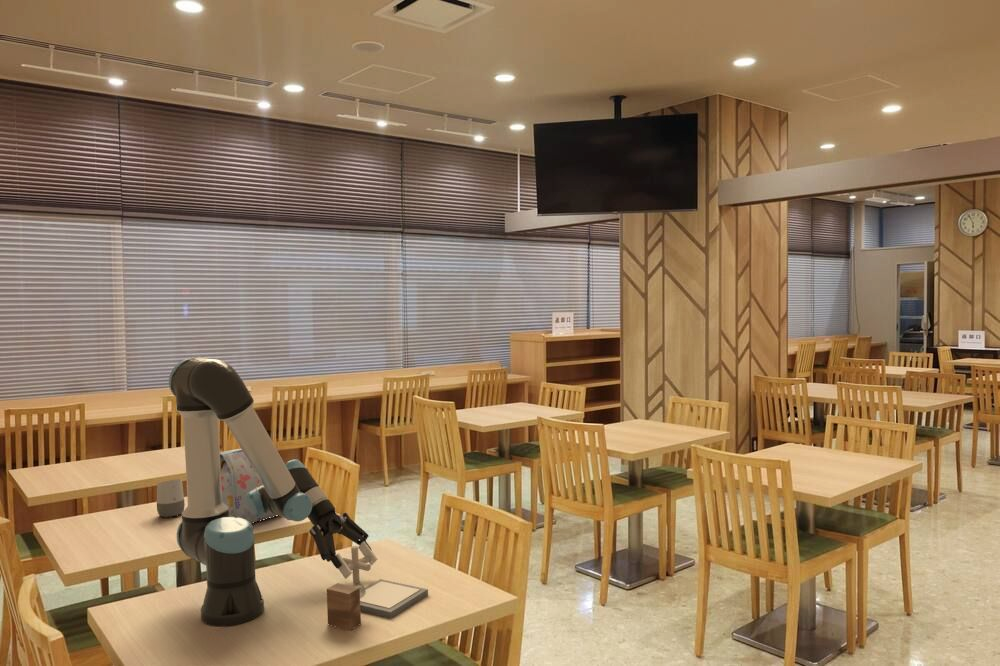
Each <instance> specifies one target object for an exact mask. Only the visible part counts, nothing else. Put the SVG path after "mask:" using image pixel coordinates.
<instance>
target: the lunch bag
mask: <svg viewBox="0 0 1000 666" xmlns="http://www.w3.org/2000/svg"><path fill="white" fill-rule="evenodd" d="M220 466H221V488H222V502H223V503H224V504H225V505H227V506H228V509H229V517H235V518H243V519H245V520H247V521H249V522H250V523H252V524H254V523H253V522H256V523H258V522H257V521H259V522H261V521H260V520H263V519H266V518H269V517H273V516H276V514H273V513H271V512H267V513H266V514H263V515H261V516H259V517H256V516H254V515H253V514H252V513H251V512H250V511H249V509H248V507H247V504H246V501H245V497H246V494H247V493H248V492H250V491H252V490H253V489H255V488H256V487H259V486H261V485H262V483H261V481H260V480H259V478H258V476H257V475H256V473H255V471H254V470H253V468H252V466H251V464H250V463H249V461H248V459H247V458H246V456H245V454H244V453H243V451H242V449H241V448H237V449H231V450H225V451H221V452H220ZM273 518H274V517H273ZM263 521H264V520H263Z"/></svg>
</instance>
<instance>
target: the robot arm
mask: <svg viewBox="0 0 1000 666" xmlns="http://www.w3.org/2000/svg"><path fill="white" fill-rule="evenodd" d="M242 379H243V378H241V376H240V374H239V373H238V372H237V371H236V369H235V368H234V367H232V365H230V364H229V363H227V362H226V361H224V360H221V359H215V358H206V357H202V356H201V357H197V356H195V357H188V358H186V359H183V360H180V361H179V362H178V363H177V364H176V365H174V366H173V368H172V369H171V371H170V374H169V377H168V386H169V390H170V391H171V393H172V394H173V396H174V397H175V405H176V412H177V413H179V415H180V416H182V417H183V434H184V436H183V438H184V456H185V457H184V458H185V475H186V476H185V477H186V480H185V481H186V496H187V497H186V498H187V507H185V508H184V511H183V512H182V514H181V523H180V524H178V527H177V531H176V542H177V545H178V548H179V549H180V551H182V552H183V553H184V554H185V556H187V557H189V558H190V559H191V560H194V561H197V562H199V563H200V564H202V565H205V567H206V570H205V571H206V586H207V587H206V592H205V594H204V599H203V604H202V606H201V609H200V619H201V622H202V623H204V624H206V625H209V626H214V627H217V626H218V627H227V626H228V627H229V626H235V625H239V624H240V625H241V624H244V623H246V622H251V621H252V620H254V619H256V618H258V617H259V616H261V615H262V614H263V612H264V610H265V601H264V598H263V595H262V592H261V590H260V587H259V585H258V583H257V578H256V558H255V557H256V556H255V539H256V538H255V532H254V527H253V525H252V524H253V523H252V524H251V523H250V522H249V521H247V520H245V519H243V518H235V517H229V509H228V506H227V505H225V504H224V503H223V502H222V488H221V466H220V451H221V450H220V445H221V444H220V429H219V428H220V427H219V423H220V422H219V421H223V422H224V423H225V424H226V425H227V428H228V429H229V431H230V432H231V434H232V436H233V437H234V440H235V441H236V442H237V444H238V446H239V447H240V448H239V449H242V451H243V453H244V454H245V456H246V458H247V459H248V461H249V463H250V464H251V466H252V468H253V470H254V471H255V473H256V475H257V476H258V478H259V480H260V481H261V483H262V485H261V486H259V487H256V488H255V489H253V490H252V491H250V492H248V493H247V494H246V497H245V501H246V504H247V507H248V509H249V511H250V512H251V513H252V514H253V515H254V516H256V517H259V516H261V515H263V514H266V513H267V512H271V513H273V514H276V515H279V516H278V517H281V518H284V519H286V520H287V521H293V522H302V521H304V520H306V519H307V518H308V519H309V521H310V522H311V524H312V525H313V526H312V527H311V528H310V529H309V533H310V535H311V536H312V538H313V540H314V542H315V545H316V547H317V550H318V553H319V555H320V557H321V560H322V561H326V562H329V563H330V562H331V563H332V564H333V566H334V567H335V568H336V569H337V570H338V571H339V572H340V573H342V574H341V575H342V576H343V577H344V579H345V580H347V579H348V578H349V577H350V576H351V575H352V574H353V571H352V570H350V568H349V567H348V565H347V564H346V563H345V561H344V560H343V558H344V557H342V556H341V554H340V553H336V547H335V541H334V540H335V539H334V534H338V535H342V536H344V537H346V538H347V540H348V539H349V540H350V541H351V542H353V543H355V544H357V545H358V551H360V552H361V554H362V555H363V558H364V557H366V556H369V557H370V559H371V560H370V562H368V564H370V566H373V565H374V564H375V563H376V562H377V561H378V557H377V556H376V554H375V553H374V552H373V551H372V547H371V546H370V545H369V543H368V542H367V539H368V538H369V534H368V533H367V532H366V531H365V530H363V529H362V527H360V526H359V525H358V524H357V523H356V521H354V520H352V519H351V517H350V515H349V514H348V513H347V512H343V513H342V515H339V514H338V513H336V507H335V505H333V503H332V501H331V500H330V499H328V496H327V494H326V493H325V492H324V491H323V490H322V488H321V487H320V485H319V484H318V482H317V481H316V480H315V479H314V477H313V475H312V474H311V473H310V471H309V469H308V468H307V467H306V466H305V465H304V463H303V462H301V461H300V460H299V459H291V460H288V461H286V463H285V462H284V460H283V458H282V457H281V455H280V453H279V451H278V449H277V447H276V445H275V444H274V442H273V440H272V438H271V437H270V435H269V433H268V432H267V430H266V427H265V426H264V424H263V422H262V421H261V419H260V417H259V415H258V414H257V412H256V410H255V409H254V403H255V399H254V398H253V396H252V395H251V392H250V391H249V389H248V388H247V385H246V384H245V383H244V381H243V380H242Z"/></svg>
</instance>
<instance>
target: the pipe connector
mask: <svg viewBox="0 0 1000 666" xmlns="http://www.w3.org/2000/svg"><path fill="white" fill-rule="evenodd" d="M358 547H359V545H358V546H357V545H354V546H351V547H350V550H351V551H350V552H351V559H350V558H347V557H342V558H343V560H344V561H345V563H346V564H347V565H348V567H349V568H350V570H351V571H352V583H353V584H359V583H360V581H361V580H360V570H362V571H365V572H369V571H370V570H371V568H372V567H371V566H372V565H370V563H369V562H370V560H371V559H370V557H369V556H366V557H364V556H363V557H362V558H360V559H359V548H358ZM340 573H341V572H340ZM341 575H342V573H341Z"/></svg>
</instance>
